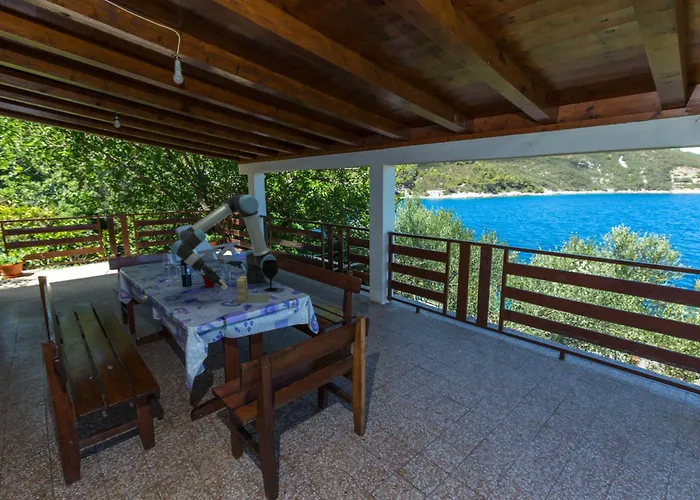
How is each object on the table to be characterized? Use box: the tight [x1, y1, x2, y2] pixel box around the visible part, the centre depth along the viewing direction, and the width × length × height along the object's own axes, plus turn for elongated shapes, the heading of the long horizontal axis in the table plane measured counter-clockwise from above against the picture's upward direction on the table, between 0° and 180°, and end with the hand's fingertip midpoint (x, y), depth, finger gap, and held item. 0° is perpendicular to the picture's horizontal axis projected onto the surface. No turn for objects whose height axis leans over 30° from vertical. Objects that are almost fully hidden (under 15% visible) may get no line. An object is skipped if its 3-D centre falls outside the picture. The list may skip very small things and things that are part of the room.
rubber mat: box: [233, 293, 272, 305], centre depth 212 cm, size 16×20×1 cm
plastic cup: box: [199, 267, 218, 289], centre depth 237 cm, size 11×11×12 cm
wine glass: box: [262, 259, 280, 293], centre depth 229 cm, size 10×10×20 cm
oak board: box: [236, 275, 249, 302], centre depth 210 cm, size 10×4×13 cm, turn 7°
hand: (226, 288), depth 208 cm, fingers closed
